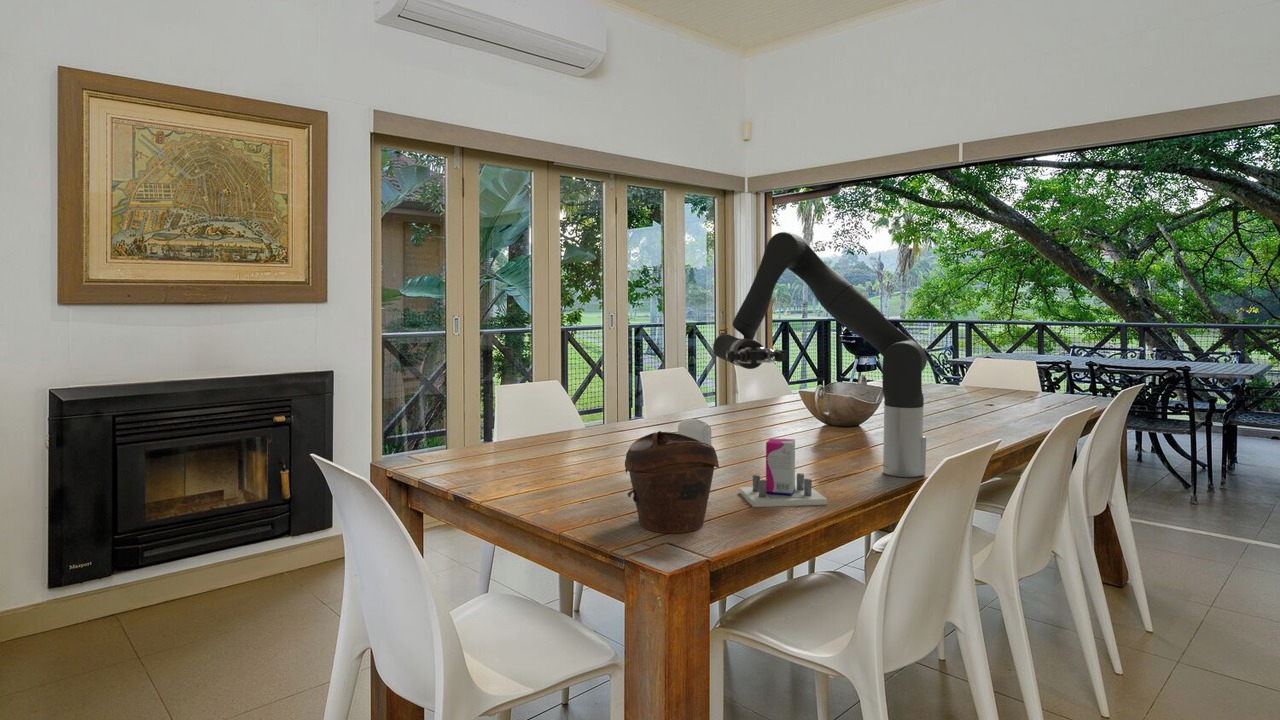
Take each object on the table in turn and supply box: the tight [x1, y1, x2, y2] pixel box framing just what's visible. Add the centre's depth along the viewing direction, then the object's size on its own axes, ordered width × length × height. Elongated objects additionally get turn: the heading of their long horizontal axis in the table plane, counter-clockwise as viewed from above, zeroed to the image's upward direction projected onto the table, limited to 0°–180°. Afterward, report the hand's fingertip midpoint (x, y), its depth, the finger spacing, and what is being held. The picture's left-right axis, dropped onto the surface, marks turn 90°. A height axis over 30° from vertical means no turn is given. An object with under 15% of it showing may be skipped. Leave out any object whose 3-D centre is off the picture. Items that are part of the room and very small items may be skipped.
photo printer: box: [677, 418, 712, 446], centre depth 192 cm, size 10×4×12 cm, turn 39°
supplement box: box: [765, 438, 796, 496], centre depth 159 cm, size 6×6×12 cm
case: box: [624, 430, 720, 534], centre depth 141 cm, size 18×20×18 cm
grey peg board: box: [739, 472, 828, 508], centre depth 159 cm, size 16×12×5 cm
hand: (763, 357), depth 172 cm, fingers open, 8 cm apart
